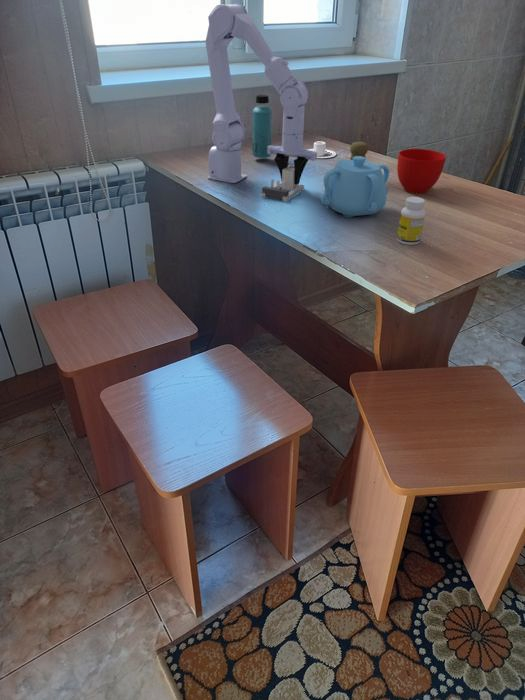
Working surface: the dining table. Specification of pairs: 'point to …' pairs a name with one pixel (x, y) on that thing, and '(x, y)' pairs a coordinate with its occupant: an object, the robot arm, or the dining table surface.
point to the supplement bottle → (411, 221)
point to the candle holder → (321, 149)
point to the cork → (358, 149)
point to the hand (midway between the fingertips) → (290, 182)
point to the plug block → (289, 178)
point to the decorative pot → (356, 187)
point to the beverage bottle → (261, 128)
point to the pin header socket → (279, 191)
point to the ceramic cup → (419, 169)
